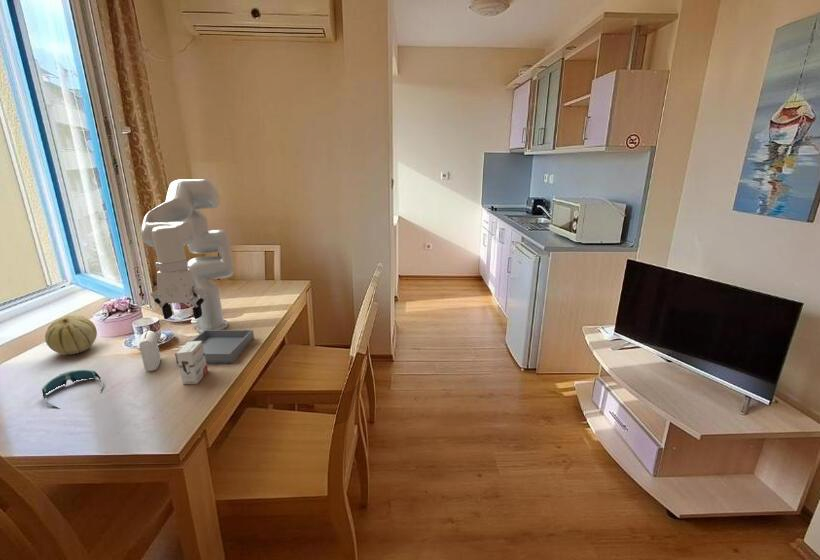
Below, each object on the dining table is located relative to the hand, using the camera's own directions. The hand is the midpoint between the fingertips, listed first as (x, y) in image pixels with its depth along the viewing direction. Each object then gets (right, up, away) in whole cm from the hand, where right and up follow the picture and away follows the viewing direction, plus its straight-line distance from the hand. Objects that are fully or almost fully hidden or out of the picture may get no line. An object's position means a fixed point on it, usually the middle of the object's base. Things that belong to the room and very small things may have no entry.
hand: (183, 317), depth 123 cm
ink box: (0, -21, +7) cm, 22 cm away
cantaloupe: (-56, -16, +25) cm, 63 cm away
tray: (-2, -15, +25) cm, 29 cm away
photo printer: (-20, -19, +15) cm, 31 cm away
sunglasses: (-34, -24, -1) cm, 42 cm away
